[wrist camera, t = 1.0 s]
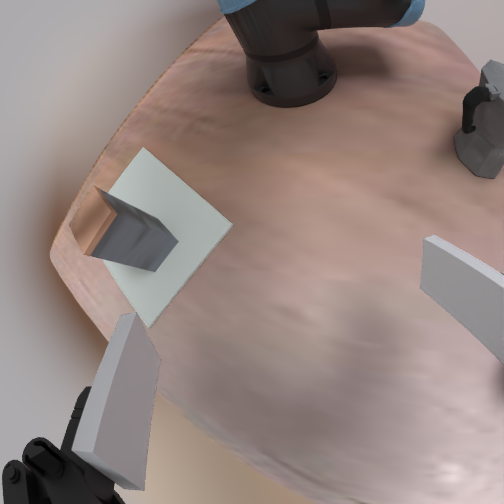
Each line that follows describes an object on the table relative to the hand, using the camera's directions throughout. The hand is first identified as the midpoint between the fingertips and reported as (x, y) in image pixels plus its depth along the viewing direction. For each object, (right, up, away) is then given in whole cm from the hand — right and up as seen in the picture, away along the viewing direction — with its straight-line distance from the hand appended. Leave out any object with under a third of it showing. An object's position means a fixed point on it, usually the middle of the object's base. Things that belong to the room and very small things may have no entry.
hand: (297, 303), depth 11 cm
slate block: (-16, +3, +30) cm, 34 cm away
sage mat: (-20, +6, +32) cm, 38 cm away
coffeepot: (+30, +16, +17) cm, 39 cm away
